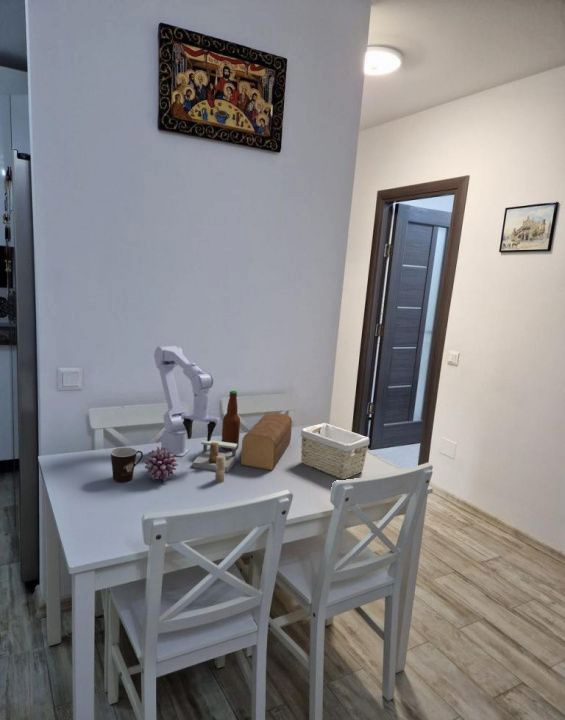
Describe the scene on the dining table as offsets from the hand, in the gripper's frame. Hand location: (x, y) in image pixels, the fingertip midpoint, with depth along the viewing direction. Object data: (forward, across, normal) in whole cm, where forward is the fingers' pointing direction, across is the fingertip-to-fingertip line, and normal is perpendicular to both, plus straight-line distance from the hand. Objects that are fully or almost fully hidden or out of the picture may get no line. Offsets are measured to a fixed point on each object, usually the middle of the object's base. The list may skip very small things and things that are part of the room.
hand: (199, 439), depth 185 cm
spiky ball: (+11, -8, -17) cm, 22 cm away
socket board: (+10, +6, +4) cm, 12 cm away
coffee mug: (+11, -19, -20) cm, 30 cm away
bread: (+11, +23, +22) cm, 33 cm away
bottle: (+10, +7, +22) cm, 25 cm away
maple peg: (+11, +12, -11) cm, 19 cm away
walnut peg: (+10, +6, +1) cm, 12 cm away
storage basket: (+11, +51, +16) cm, 55 cm away
